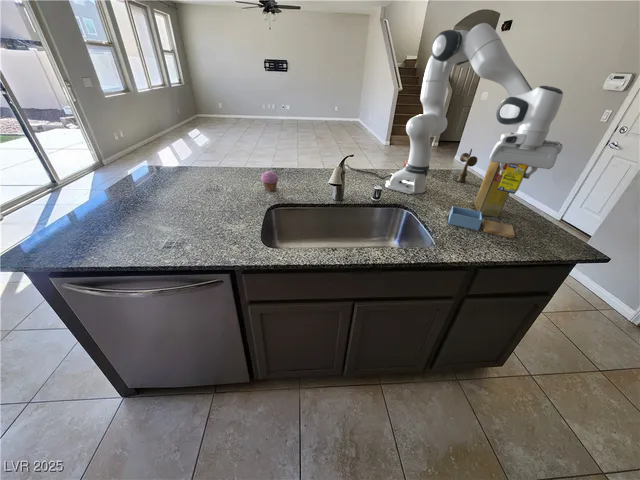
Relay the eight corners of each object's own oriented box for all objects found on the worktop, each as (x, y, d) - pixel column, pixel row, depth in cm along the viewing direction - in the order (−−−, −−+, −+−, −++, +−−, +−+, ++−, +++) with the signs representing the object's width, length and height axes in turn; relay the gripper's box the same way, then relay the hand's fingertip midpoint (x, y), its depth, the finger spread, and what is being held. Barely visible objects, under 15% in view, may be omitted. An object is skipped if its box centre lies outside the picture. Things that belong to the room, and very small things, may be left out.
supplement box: (497, 190, 105) (508, 162, 100) (501, 186, 109) (512, 159, 103) (514, 194, 102) (527, 166, 96) (517, 190, 106) (530, 163, 100)
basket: (448, 223, 118) (451, 213, 115) (449, 215, 124) (452, 205, 122) (478, 230, 113) (482, 220, 111) (477, 221, 120) (481, 211, 118)
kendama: (460, 184, 162) (471, 150, 151) (452, 178, 170) (462, 146, 159) (469, 184, 162) (481, 150, 151) (461, 178, 170) (472, 146, 159)
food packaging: (499, 217, 124) (523, 164, 111) (477, 214, 126) (498, 161, 113) (493, 206, 135) (514, 156, 122) (472, 203, 137) (491, 154, 124)
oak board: (483, 231, 112) (484, 228, 112) (482, 222, 120) (483, 219, 119) (513, 238, 109) (515, 235, 108) (510, 228, 116) (512, 225, 115)
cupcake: (273, 194, 138) (272, 175, 133) (259, 191, 141) (257, 173, 136) (281, 188, 146) (280, 170, 140) (267, 186, 148) (266, 168, 143)
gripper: (562, 140, 94) (544, 178, 101) (496, 134, 101) (483, 170, 109) (567, 144, 89) (547, 183, 96) (498, 136, 96) (484, 174, 104)
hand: (513, 176), depth 103 cm, fingers closed on supplement box, 7 cm apart
